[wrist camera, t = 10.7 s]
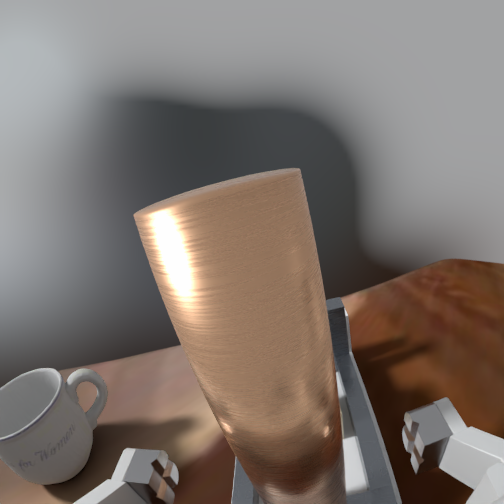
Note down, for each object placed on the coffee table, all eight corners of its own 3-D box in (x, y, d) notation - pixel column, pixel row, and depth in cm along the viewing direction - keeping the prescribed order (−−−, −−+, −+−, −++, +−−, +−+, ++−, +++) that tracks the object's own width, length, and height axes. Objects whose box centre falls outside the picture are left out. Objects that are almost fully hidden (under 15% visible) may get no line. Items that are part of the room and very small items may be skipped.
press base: (349, 354, 28) (339, 272, 25) (407, 545, 9) (444, 490, 6) (249, 374, 29) (223, 297, 26) (232, 570, 10) (163, 528, 7)
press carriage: (346, 353, 26) (312, 149, 20) (398, 528, 9) (453, 151, 4) (249, 373, 27) (189, 178, 21) (235, 552, 10) (16, 260, 5)
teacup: (22, 505, 13) (-38, 447, 11) (28, 434, 23) (-12, 380, 20) (147, 475, 18) (94, 410, 16) (127, 401, 28) (92, 340, 26)
